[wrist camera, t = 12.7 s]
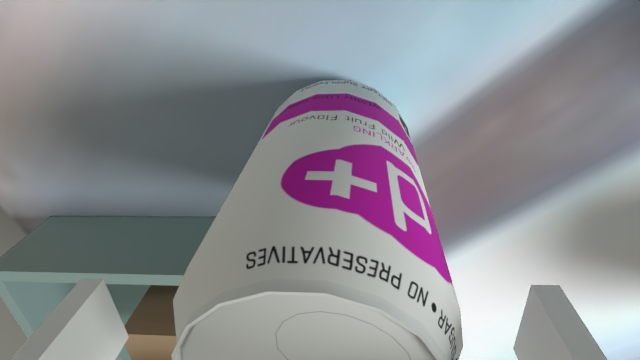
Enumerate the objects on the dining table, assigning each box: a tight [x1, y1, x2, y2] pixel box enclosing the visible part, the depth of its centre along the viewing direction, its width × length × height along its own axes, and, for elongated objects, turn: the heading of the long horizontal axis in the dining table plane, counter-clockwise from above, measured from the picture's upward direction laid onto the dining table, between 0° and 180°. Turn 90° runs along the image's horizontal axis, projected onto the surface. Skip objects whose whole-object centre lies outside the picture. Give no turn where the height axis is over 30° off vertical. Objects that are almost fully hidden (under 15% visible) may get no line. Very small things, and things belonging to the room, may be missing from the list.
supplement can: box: [171, 80, 463, 360], centre depth 16 cm, size 8×8×15 cm
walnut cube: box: [124, 285, 179, 360], centre depth 26 cm, size 6×6×6 cm
